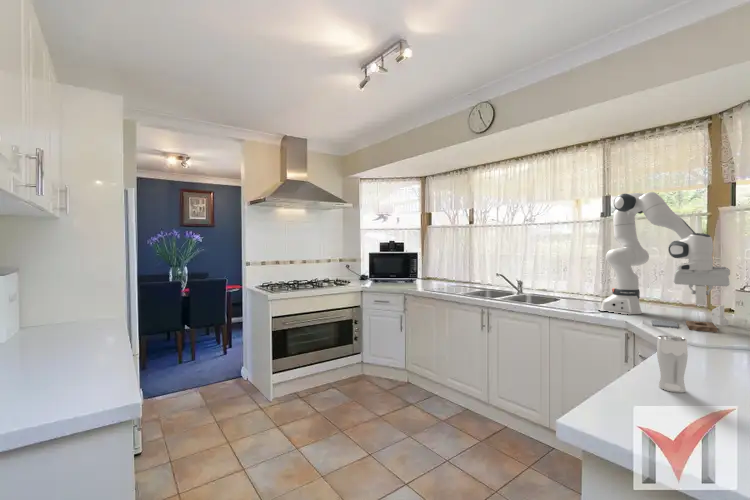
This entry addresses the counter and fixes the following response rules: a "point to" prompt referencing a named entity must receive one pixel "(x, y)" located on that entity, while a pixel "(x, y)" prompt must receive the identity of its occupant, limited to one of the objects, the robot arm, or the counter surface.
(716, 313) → the white wedge bracket
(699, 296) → the plug
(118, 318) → the counter surface
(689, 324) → the header collar
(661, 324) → the slate pad
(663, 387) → the beer glass
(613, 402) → the counter surface
